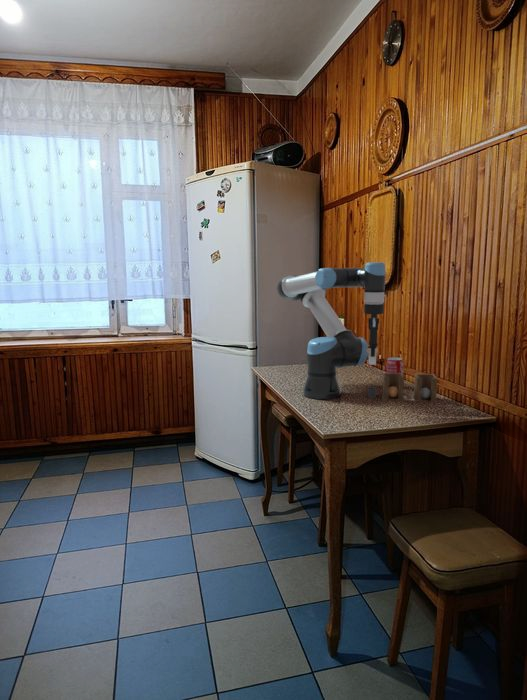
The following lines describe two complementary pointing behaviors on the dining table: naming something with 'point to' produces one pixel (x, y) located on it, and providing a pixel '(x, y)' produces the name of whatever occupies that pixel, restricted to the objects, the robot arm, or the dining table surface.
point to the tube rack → (420, 382)
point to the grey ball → (425, 393)
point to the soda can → (394, 365)
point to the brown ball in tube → (393, 392)
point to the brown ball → (376, 350)
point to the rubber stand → (371, 392)
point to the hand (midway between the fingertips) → (372, 363)
